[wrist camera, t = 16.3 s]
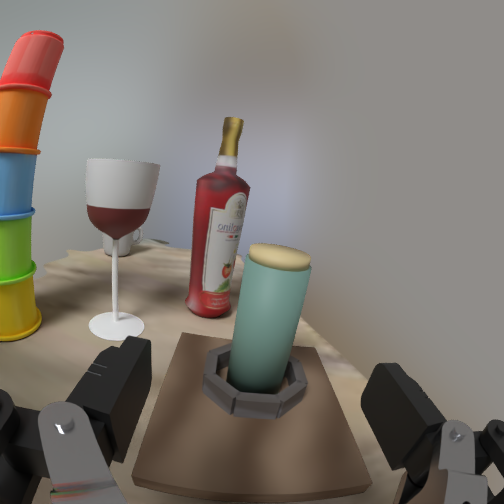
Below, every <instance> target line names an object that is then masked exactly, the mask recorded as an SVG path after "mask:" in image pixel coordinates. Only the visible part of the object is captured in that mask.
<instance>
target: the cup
mask: <svg viewBox="0 0 504 504" xmlns="http://www.w3.org/2000/svg"><path fill="white" fill-rule="evenodd" d="M138 230H139V237H138V239H137V240H136V241H134V240H133V233H134V231H133V232H131V233H129V234H127V235H125V236H123V237H122V238H120V239H119V254H118V256H125V255H127V254H128V253H129V251H130V248H131V245H135V244H139V243H140V242H141V240H142V238H143V230H142V228H141V227H139V228H138ZM103 248H104V252H105V253H106V254H107V255H110V256H112V250H113V239H112V238H111V237H110V236H108V235H107V234H105V233H103Z"/></svg>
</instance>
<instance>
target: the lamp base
mask: <svg viewBox="0 0 504 504" xmlns="http://www.w3.org/2000/svg"><path fill="white" fill-rule="evenodd" d="M231 346H232V340H230V339H223V338H215V337H209V336H202V335H196V334H190V333H184V332H182V334H181V337H180V339H179V342H178V344H177V347H176V350H175V352H174V355H173V357H172V360H171V363H170V365H169V368H168V371H167V374H166V376H165V379H164V382H163V384H162V387H161V390H160V393H159V395H158V398H157V401H156V404H155V407H154V410H153V412H152V415H151V418H150V421H149V424H148V427H147V430H146V433H145V436H144V438H143V441H142V444H141V447H140V450H139V454H138V457H137V460H136V463H135V466H134V469H133V472H132V475H131V476H132V479H133V482H134V484H135V485H137V486H140V487H144V488H148V489H152V490H156V491H161V492H165V493H170V494H176V495H181V496H187V497H193V498H201V499H209V500H218V501H230V502H250V503H278V502H298V501H310V500H320V499H328V498H335V497H341V496H347V495H353V494H358V493H363V492H365V490H366V489H367V488H368V487H369V486H370V485H371V484H372V481H371V478H370V476H369V473H368V471H367V468H366V466H365V463H364V461H363V459H362V456H361V454H360V451H359V449H358V446H357V444H356V442H355V439H354V437H353V435H352V432H351V430H350V427H349V425H348V423H347V420H346V418H345V416H344V413H343V411H342V409H341V406H340V404H339V402H338V399H337V397H336V395H335V392H334V390H333V388H332V385H331V383H330V381H329V378H328V376H327V374H326V372H325V369H324V367H323V365H322V362H321V360H320V358H319V356H318V353H317V351H316V349H315V348H314V347H299V346H292V349H291V352H290V356H289V359H288V363H287V366H286V370H285V373H284V377H283V380H282V383H281V387H280V390H279V393H278V394H277V395H271V394H257V393H246V392H239V391H238V390H236V389H235V388H234V387H232V386H231V385H230V384H228V383H227V382H226V377H227V371H228V365H229V358H230V352H231Z"/></svg>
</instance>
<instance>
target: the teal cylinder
mask: <svg viewBox="0 0 504 504" xmlns="http://www.w3.org/2000/svg"><path fill="white" fill-rule="evenodd" d="M310 260H311V257H310V255H309V254H307V253H305V252H303V251H300V250H297V249H294V248H290V247H286V246H281V245H275V244H265V243H264V244H263V243H261V244H260V243H258V244H252V245H251V246H250V251H249V254H247V255H246V259H245V265H244V271H243V277H242V283H241V289H240V296H239V302H238V308H237V314H236V321H235V327H234V333H233V339H232V346H231V352H230V358H229V365H228V371H227V377H226V382H227V383H228V384H230V385H231V386H232V387H234V388H235V389H236V390H238V391H239V392H246V393H257V394H271V395H277V394H278V393H279V390H280V387H281V383H282V380H283V377H284V373H285V370H286V366H287V363H288V359H289V356H290V352H291V349H292V345H293V341H294V338H295V334H296V330H297V326H298V322H299V318H300V315H301V310H302V307H303V302H304V298H305V294H306V290H307V286H308V282H309V277H310V273H311V266H310Z"/></svg>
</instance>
